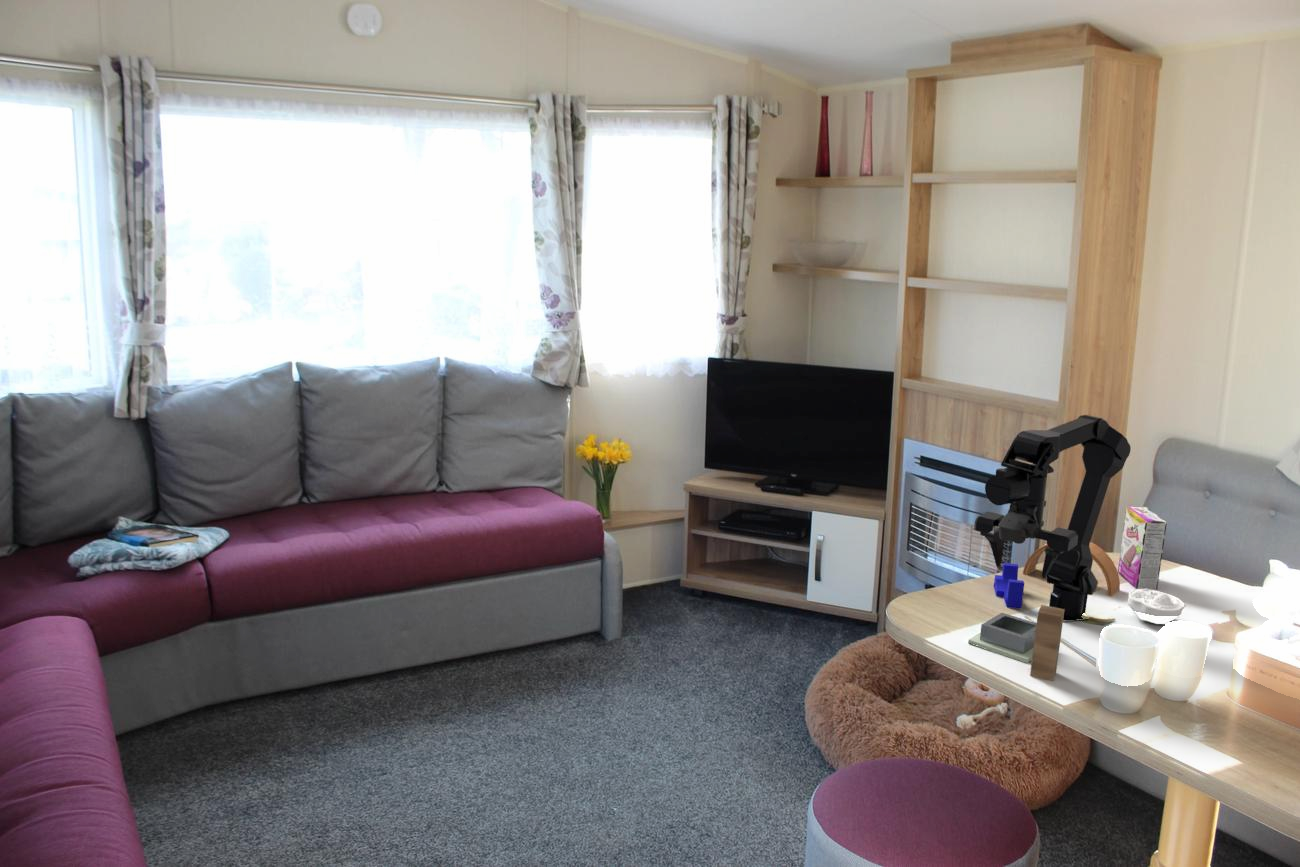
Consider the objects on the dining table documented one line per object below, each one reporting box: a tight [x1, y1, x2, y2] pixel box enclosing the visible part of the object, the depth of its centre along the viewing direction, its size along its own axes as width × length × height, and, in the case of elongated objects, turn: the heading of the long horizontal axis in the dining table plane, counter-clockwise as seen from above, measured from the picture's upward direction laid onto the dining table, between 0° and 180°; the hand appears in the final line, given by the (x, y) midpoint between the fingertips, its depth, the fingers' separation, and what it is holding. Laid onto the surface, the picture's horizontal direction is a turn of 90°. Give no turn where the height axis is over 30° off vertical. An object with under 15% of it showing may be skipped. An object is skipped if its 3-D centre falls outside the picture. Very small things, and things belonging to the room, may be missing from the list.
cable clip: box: [993, 562, 1025, 610], centre depth 238 cm, size 12×4×6 cm, turn 169°
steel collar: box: [979, 612, 1037, 654], centre depth 214 cm, size 9×9×3 cm
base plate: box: [967, 632, 1034, 664], centre depth 214 cm, size 12×12×1 cm
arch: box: [1022, 541, 1121, 597], centre depth 249 cm, size 6×20×10 cm, turn 50°
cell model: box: [1127, 588, 1186, 617], centre depth 228 cm, size 10×12×7 cm
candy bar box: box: [1117, 505, 1168, 591], centre depth 250 cm, size 11×5×16 cm, turn 179°
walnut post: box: [1029, 604, 1065, 682], centre depth 201 cm, size 4×4×12 cm
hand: (1020, 572), depth 217 cm, fingers open, 9 cm apart
